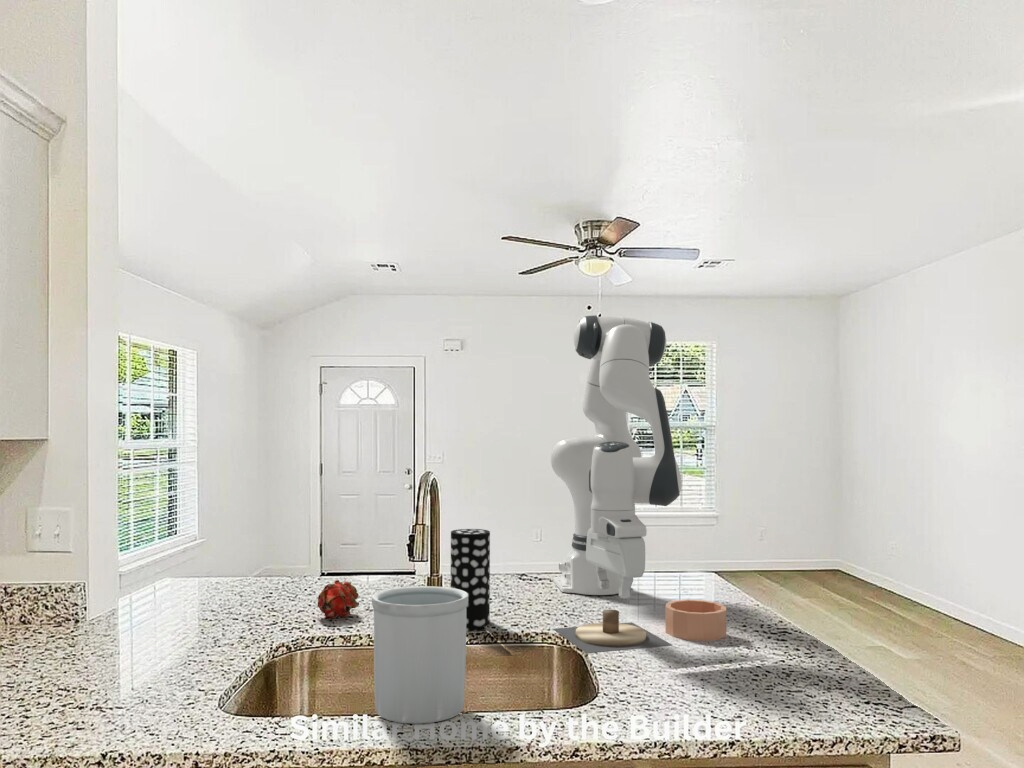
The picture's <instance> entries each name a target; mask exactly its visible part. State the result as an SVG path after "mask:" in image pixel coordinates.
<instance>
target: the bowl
mask: <svg viewBox="0 0 1024 768" xmlns="http://www.w3.org/2000/svg"><path fill="white" fill-rule="evenodd" d="M665 633H666V634H667V635H669V636H671V637H672V638H677V639H682V640H685V641H697V642H698V641H700V642H709V641H717V640H718V641H719V640H721V639H724V638H727V606H725V605H724V604H722V603H720V602H715V601H711V600H704V599H703V600H701V599H700V600H699V599H679V600H678V599H677V600H672V601H669V602H666V603H665Z"/></svg>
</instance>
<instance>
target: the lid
mask: <svg viewBox="0 0 1024 768" xmlns="http://www.w3.org/2000/svg"><path fill="white" fill-rule="evenodd" d="M619 618H620V611H619V610H616V609H604V610H602V622H595V623H587V624H582V625H581V626H577V627H578V628H577V629H576V638H577V639H578V640H580V641H582V642H585V643H588V644H593V645H599V646H612V647H619V646H631V645H636V644H640V643H642V642H644V641H645V640H646V631H645V630H646V629H645V630H643V629H644V628H643V629H641V628H642V627H641V628H639V627H640V626H639V627H636V626H633V625H628V624H621V623H622V622H621V623H620V619H619Z"/></svg>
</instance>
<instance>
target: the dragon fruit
mask: <svg viewBox="0 0 1024 768" xmlns="http://www.w3.org/2000/svg"><path fill="white" fill-rule="evenodd" d="M358 598H359V593H358V589H357V588H356V586H354V585H352V583H351V582H350V581H344V582H341V581H340V580H339V579H336V580H334V583H328V584H327V585H325V586H324V588H323V589H322V591H321V592H320V593H319V594H318V596H317V608H319V610H320V611H321V613H322V614H324V620H334V619H336V618H337V617H339V616H341V617H342V618H344V619H347V618H348V616H350V615H351V609H355V608H358V607H359V605H360V602H359V601H356V600H357V599H358Z"/></svg>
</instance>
